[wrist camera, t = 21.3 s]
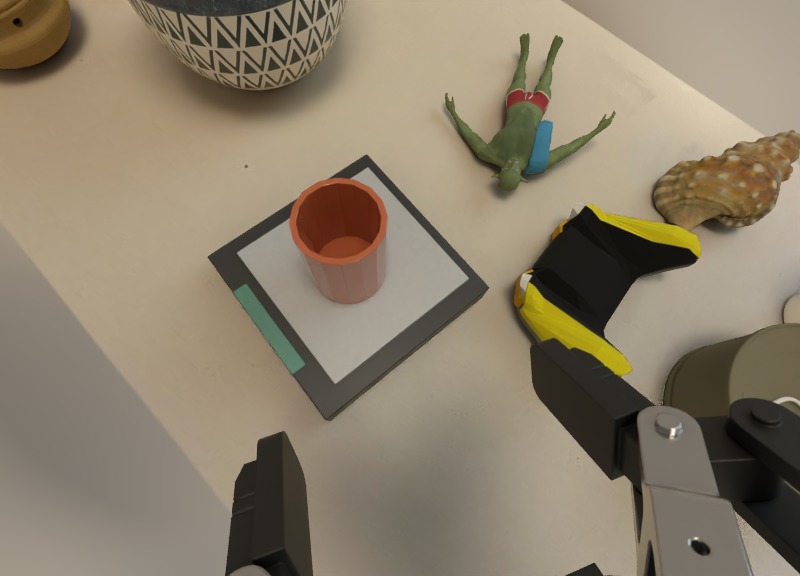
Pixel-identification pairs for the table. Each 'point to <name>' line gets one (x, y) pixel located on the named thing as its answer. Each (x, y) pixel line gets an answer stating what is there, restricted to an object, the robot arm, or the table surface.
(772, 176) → the seashell
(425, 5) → the table surface
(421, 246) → the scale
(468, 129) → the figurine
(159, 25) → the planter
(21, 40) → the pot
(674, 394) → the can
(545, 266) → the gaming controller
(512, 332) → the table surface
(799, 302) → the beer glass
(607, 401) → the robot arm
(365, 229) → the cup
